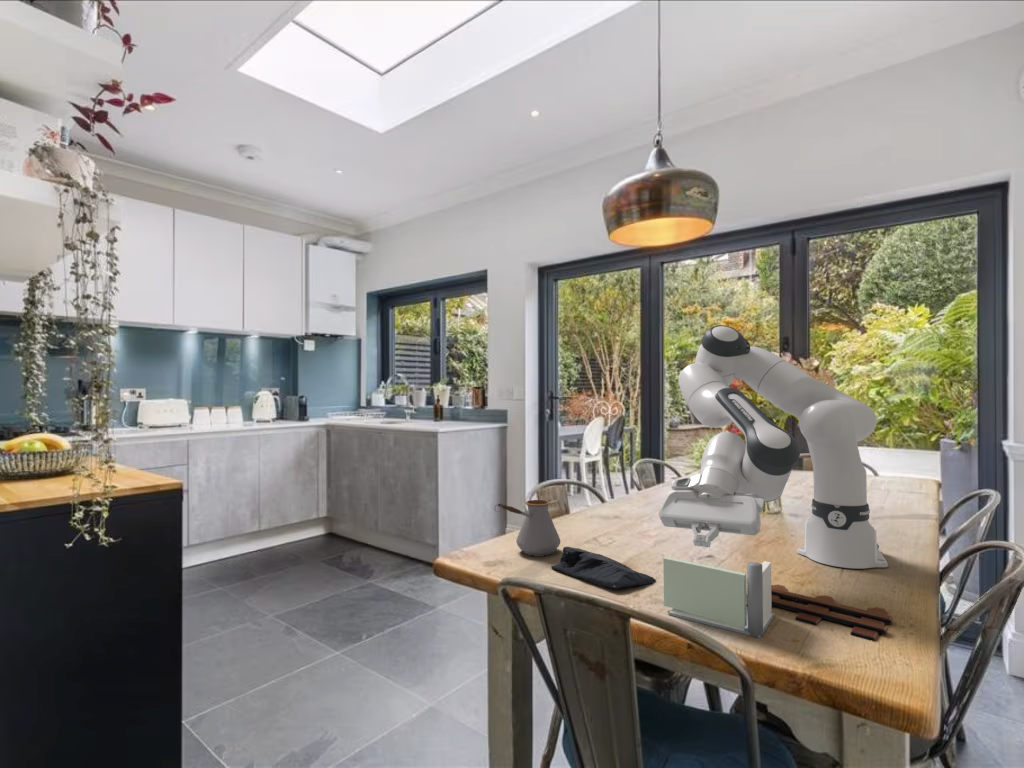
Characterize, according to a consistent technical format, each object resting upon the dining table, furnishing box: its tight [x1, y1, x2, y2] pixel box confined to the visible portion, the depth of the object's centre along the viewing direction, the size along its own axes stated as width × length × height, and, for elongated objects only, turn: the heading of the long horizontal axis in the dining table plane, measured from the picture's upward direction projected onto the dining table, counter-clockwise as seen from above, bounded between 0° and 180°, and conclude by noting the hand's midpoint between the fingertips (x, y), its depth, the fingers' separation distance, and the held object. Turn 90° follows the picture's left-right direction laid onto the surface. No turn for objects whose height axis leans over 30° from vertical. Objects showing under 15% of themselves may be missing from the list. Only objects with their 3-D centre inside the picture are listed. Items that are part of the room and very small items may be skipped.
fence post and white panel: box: [746, 560, 773, 638], centre depth 96 cm, size 11×2×12 cm, turn 143°
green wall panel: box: [662, 556, 748, 628], centre depth 99 cm, size 15×1×9 cm, turn 49°
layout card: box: [668, 607, 775, 639], centre depth 101 cm, size 11×16×1 cm
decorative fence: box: [747, 584, 895, 642], centre depth 103 cm, size 23×2×15 cm
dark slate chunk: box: [550, 546, 657, 590], centre depth 124 cm, size 15×22×5 cm
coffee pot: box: [494, 499, 561, 557], centre depth 137 cm, size 21×12×15 cm, turn 139°
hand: (701, 544), depth 109 cm, fingers closed
